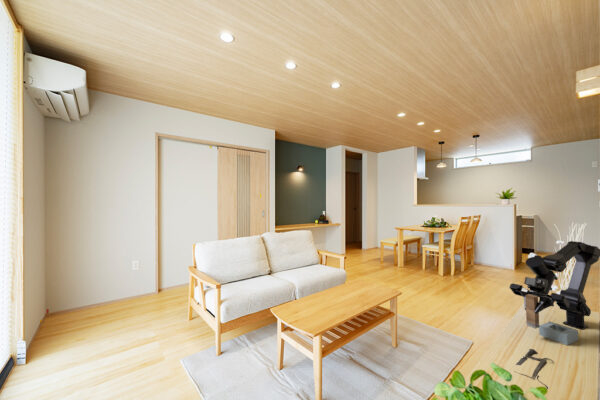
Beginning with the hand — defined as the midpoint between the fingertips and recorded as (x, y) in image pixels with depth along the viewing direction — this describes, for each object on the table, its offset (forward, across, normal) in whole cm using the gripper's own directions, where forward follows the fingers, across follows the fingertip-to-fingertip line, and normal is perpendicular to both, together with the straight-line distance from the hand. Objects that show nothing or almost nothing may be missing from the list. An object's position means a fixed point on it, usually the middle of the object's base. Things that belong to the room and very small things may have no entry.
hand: (530, 311), depth 107 cm
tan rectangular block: (+4, 0, +6) cm, 7 cm away
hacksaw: (+23, +11, -6) cm, 26 cm away
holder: (0, +4, +16) cm, 17 cm away
